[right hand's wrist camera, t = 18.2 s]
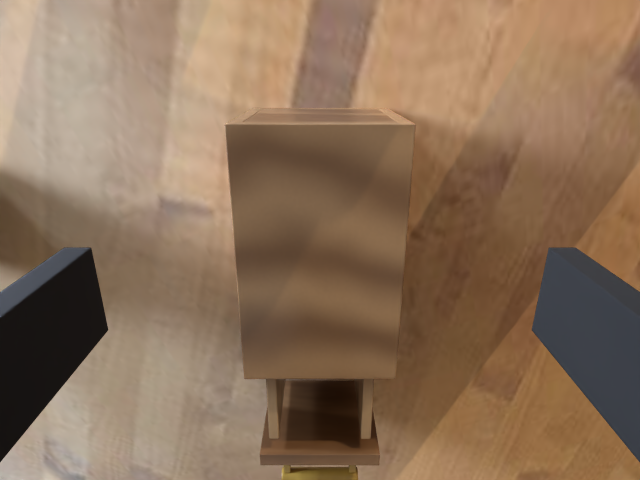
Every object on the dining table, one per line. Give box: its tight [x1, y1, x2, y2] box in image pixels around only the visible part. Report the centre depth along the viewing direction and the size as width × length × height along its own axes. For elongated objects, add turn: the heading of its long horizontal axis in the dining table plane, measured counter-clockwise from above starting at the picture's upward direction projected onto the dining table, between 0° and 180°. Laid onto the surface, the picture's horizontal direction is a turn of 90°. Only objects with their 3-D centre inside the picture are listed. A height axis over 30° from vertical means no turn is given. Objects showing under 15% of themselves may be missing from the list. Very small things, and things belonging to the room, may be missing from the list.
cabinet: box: [225, 108, 416, 379], centre depth 34 cm, size 18×11×11 cm, turn 0°
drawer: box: [260, 379, 380, 480], centre depth 38 cm, size 22×10×9 cm, turn 0°
